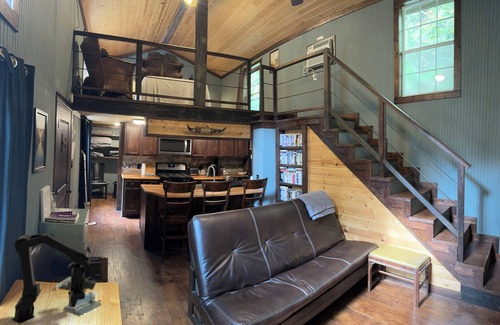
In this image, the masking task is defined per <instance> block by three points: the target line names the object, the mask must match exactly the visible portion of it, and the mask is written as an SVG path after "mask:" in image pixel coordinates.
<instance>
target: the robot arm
mask: <svg viewBox="0 0 500 325" xmlns="http://www.w3.org/2000/svg"><path fill="white" fill-rule="evenodd" d="M42 244H45V245H46V246H48V247H50V248H51V249H52V248H53V249H54V250H56V251H57V252H60V253H62V254H63V255H65V256H67V257H68V259H69V260H70V261H72V262H71V263H70V264H69V265H68V267H67V268H68V269H71V276H69V277H70V280H71V281H69V282H68V283H67V289H68V288H69V291H68V292H67V293H68V299H70V301H71V305H72V307H75V305H76V303H77V300H81V299H85V294H86V292H85V289H84V288H86V290H87V289H89V290H91V291H93V290H94V288H95V286H96V284H97V283H96V281H95V280H93V277H92V276H101V272H102V261H91V258H89V256H88V251H87V250H85V249H83V248H79V247H74V246H71V245H69V244H68V243H66V242H64V241H62V240H60V239H59V238H57V237H55V236H53V235H51V234H50V233H49V232H46V233H39V234H32V235H29V234H24V235H21V236H19V237H18V239H17V240H16V241H15V242H14V244H13V245H14V249H15V251H16V254H17V255H18V256H19V260H20V268H21V269H20V270H21V275H22V283H23V288H22V293H21V297H19V299H18V301H17V302H16V304H15V306H14V317H12V318H11V320H12V321H14V322H17V323H18V324H22V323H25V322H27V321H29V320H32V319H33V318H35V304H34V303H36V301H37V299H38V297H39V296H40V293H41V291H42V289H41V283H40V282H39V283H37V282H36V281H35V280H36V279H35V275H34V274H35V273H34V272H35V271H34V266H33V258H32V257H33V256H32V251H33V247H35V246H39V245H42ZM85 273H86V275H87V276H88V277H87V278H85ZM80 289H81V290H80ZM83 289H84V290H83Z"/></svg>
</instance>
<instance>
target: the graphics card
mask: <svg viewBox="0 0 500 325" xmlns="http://www.w3.org/2000/svg"><path fill="white" fill-rule="evenodd" d="M70 277H71V276H68V277H67V278H66V279H64V280H63V281H60V282H59V283H57V285H56V287H55V290H56V291H57V290H59V289H63V290H66V289H67V283H68V282H69V281H71V280H70ZM68 289H69V288H68ZM69 290H70V289H69ZM80 290H81V289H80ZM85 290H87V288H84V289H83V291H85Z"/></svg>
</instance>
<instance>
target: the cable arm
mask: <svg viewBox="0 0 500 325" xmlns="http://www.w3.org/2000/svg"><path fill="white" fill-rule="evenodd" d="M96 293H97V292H96V291H95V290H94V291H93V290H91V291H89V293H85V299H81V300H77V303H76V305H78V304H81V303H84V302H86V301H89V300H94V301H95V299H96ZM68 305H69V307H72V305H71V301H70V298H68Z"/></svg>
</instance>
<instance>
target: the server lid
mask: <svg viewBox="0 0 500 325" xmlns="http://www.w3.org/2000/svg"><path fill="white" fill-rule="evenodd" d="M100 306H102V302H99V301H97V300H95V299H94V300H89V301H86V302H84V303H81V304H78V305H75V307H69V304H67V305H65V306H64V310H66V311H68V312H71V313H73V314H76V315H79V316H80V315H81V316H83V315H84V313H85V314H87V313H88V312H91V311H92V310H94V309H97V308H99V307H100ZM82 314H83V315H82Z"/></svg>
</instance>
